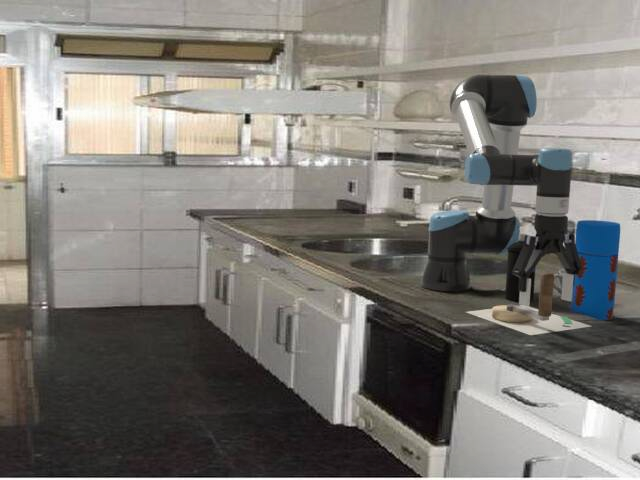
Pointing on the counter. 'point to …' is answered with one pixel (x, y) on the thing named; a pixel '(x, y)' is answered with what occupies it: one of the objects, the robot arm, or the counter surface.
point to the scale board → (534, 323)
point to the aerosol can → (513, 280)
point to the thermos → (596, 268)
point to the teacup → (559, 281)
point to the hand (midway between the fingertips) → (545, 302)
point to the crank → (525, 314)
